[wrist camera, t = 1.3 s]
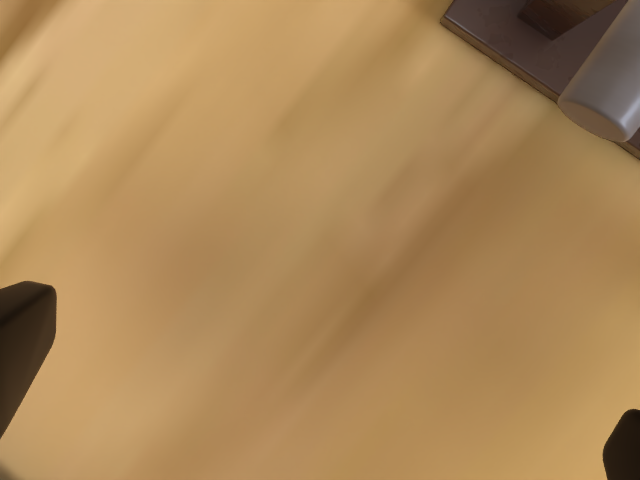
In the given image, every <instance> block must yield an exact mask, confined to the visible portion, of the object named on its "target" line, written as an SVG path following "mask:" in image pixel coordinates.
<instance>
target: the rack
mask: <svg viewBox="0 0 640 480" xmlns="http://www.w3.org/2000/svg"><path fill="white" fill-rule="evenodd" d="M440 23H441V24H442V25H443V26H445V27H446V28H448V29H449V30H451V31H452V32H454V33H455V34H457V35H458V36H460V37H461V38H463V39H464V40H465V41H467V42H468V43H470V44H471V45H473V46H474V47H476V48H477V49H479V50H480V51H482V52H483V53H485V54H486V55H487V56H489V57H490V58H492V59H493V60H495V61H496V62H498V63H499V64H501V65H502V66H504V67H505V68H507V69H508V70H509V71H511V72H512V73H514V74H515V75H517V76H518V77H520V78H521V79H523V80H524V81H526V82H527V83H529V84H530V85H531V86H533V87H534V88H536V89H537V90H539V91H540V92H542V93H543V94H545V95H546V96H548V97H549V98H551V99H552V100H554V101H555V102H556V103H558V106H559V108H560V109H561V110H562V112H563V113H564V114H565V115H566V116H567V117H568V118H569V119H571V120H572V121H573V122H575V123H576V124H577V125H579V126H580V127H582V128H584V129H585V130H587V131H589V132H591V133H593V134H595V135H597V136H599V137H602V138H604V139H607V140H611V141H614V142H615V143H617V144H618V145H620V146H621V147H622V148H624V149H625V150H627V151H628V152H630V153H631V154H633V155H634V156H636V157H637V158H639V159H640V0H453V2H452V3H451V5H450V6H449V8H448V9H447V11H446V12H445V14H444V15H443V17H442V19H441V21H440Z"/></svg>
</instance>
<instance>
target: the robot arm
mask: <svg viewBox="0 0 640 480" xmlns="http://www.w3.org/2000/svg"><path fill="white" fill-rule="evenodd" d="M56 303H57V295H56V291H55V289H54V288H53V287H52V286H51V285H46V284H42V283H37V282H32V281H23V282H20V283H17V284H14V285H11V286H8V287H5V288H2V289H0V438H1V437H2V435H3V434H4V432H5V430H6V429H7V427H8V425H9V424H10V422H11V420H12V418H13V417H14V415H15V413H16V411H17V409H18V407H19V406H20V404H21V402H22V400H23V398H24V396H25V395H26V393H27V391H28V389H29V387H30V385H31V384H32V382H33V380H34V378H35V376H36V374H37V373H38V371H39V369H40V367H41V365H42V363H43V362H44V360H45V358H46V356H47V354H48V353H49V351H50V349H51V347H52V345H53V342H54V339H55V334H56ZM603 463H604V467H605V471H606V475H607V480H640V410H637V409H630V410H628V411H626V412H625V413H624V414H623V415H622V417H621V419H620V420H619V422H618V424H617V425H616V427H615V429H614V430H613V432H612V434H611V435H610V437H609V439H608V440H607V442H606V444H605V446H604V449H603Z"/></svg>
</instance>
